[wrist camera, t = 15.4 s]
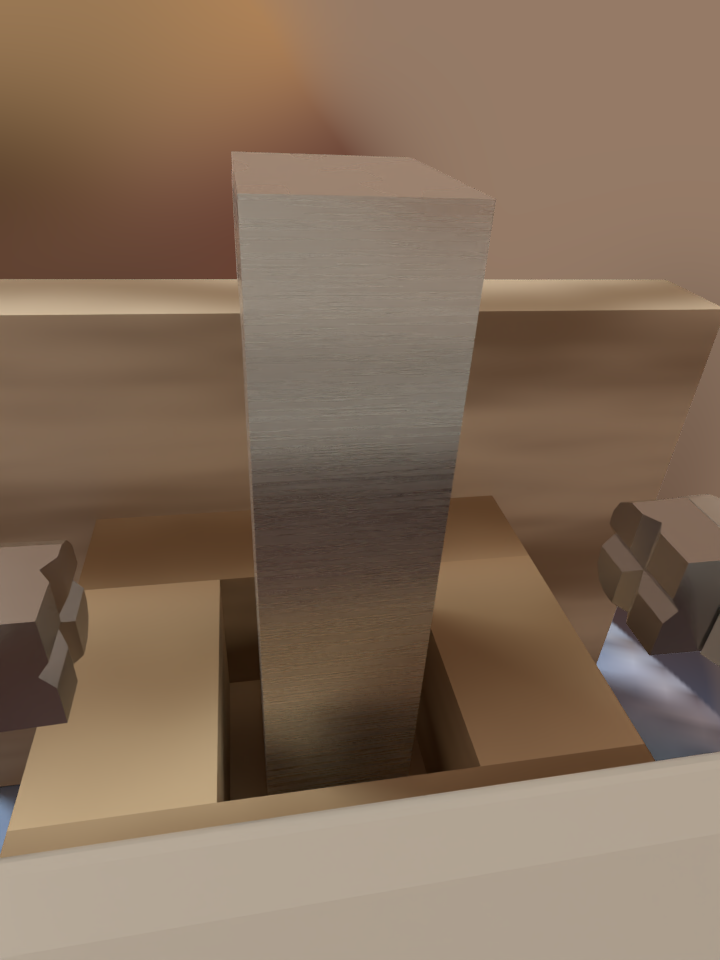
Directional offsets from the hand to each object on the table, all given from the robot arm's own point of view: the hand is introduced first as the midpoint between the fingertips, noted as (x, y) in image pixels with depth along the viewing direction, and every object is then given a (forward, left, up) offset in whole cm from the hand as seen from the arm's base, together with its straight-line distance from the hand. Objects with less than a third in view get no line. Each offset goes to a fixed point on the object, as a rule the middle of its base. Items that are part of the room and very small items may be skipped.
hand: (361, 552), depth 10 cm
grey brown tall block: (+2, +2, -9) cm, 9 cm away
